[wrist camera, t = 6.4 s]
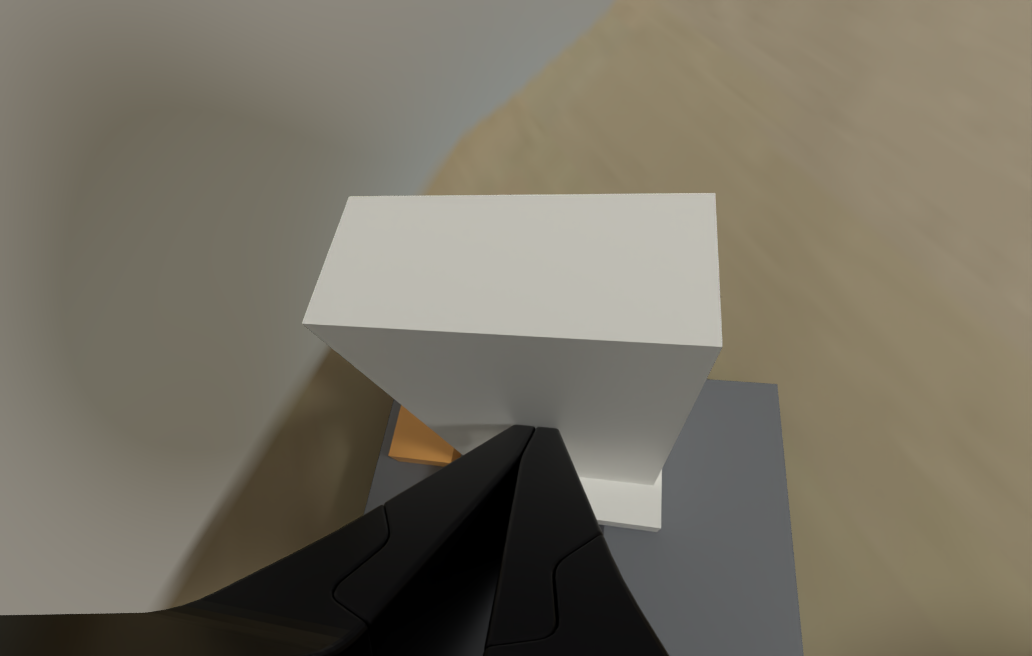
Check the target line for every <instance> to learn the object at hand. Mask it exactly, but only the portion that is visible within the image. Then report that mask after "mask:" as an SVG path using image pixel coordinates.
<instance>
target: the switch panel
mask: <svg viewBox="0 0 1032 656" xmlns="http://www.w3.org/2000/svg"><path fill="white" fill-rule="evenodd" d="M461 456H463V455H462V454H461V453H460V452H458V451H457V450H456V449H455V448H454V447H452V446H451V445H450V444H449V443H447V442H446V441H445V440H444V439H443V438H441V437H440V436H439V435H438V434H436V433H435V432H434V431H433V430H431V429H430V428H429V427H428V426H427V425H425V424H424V423H423V422H422V421H420V420H419V419H418V418H417V417H416V416H414V415H413V414H412V413H411V412H409V411H408V410H407V409H406V408H405V407H403V406H402V405H401V404H400V403H398V402H397V401H396V400H395V399H394V400H393V404H392V408H391V412H390V416H389V420H388V423H387V427H386V431H385V435H384V439H383V443H382V446H381V450H380V454H379V458H378V462H377V466H376V469H375V473H374V477H373V481H372V485H371V489H370V492H369V496H368V500H367V504H366V508H365V512H364V515H365V514H366V513H368V512H370V511H371V510H373V509H375V508H376V507H378V506H380V505H383V506H384V503H385V502H386V501H388V500H390V499H391V498H393V497H395V496H396V495H398V494H400V493H401V492H403V491H405V490H406V489H408V488H410V487H411V486H413V485H415V484H416V483H418V482H420V481H421V480H423V479H425V478H426V477H428V476H430V475H431V474H433V473H435V472H436V471H438V470H439V469H441V468H443V467H444V466H446V465H448V464H449V463H451V462H453V461H454V460H456V459H458V458H459V457H461ZM599 526H600V528H601V531H602V533H603V537H604V538H605V540H606V542H607V544H608V547H609V549H610V552H611V554H612V556H613V558H614V560H615V562H616V564H617V566H618V569H619V571H620V573H621V575H622V577H623V579H624V581H625V583H626V584H627V586H628V588H629V590H630V591H631V593H632V595H633V596H634V598H635V600H636V602H637V603H638V605H639V607H640V609H641V610H642V612H643V613H644V615H645V617H646V618H647V620H648V622H649V623H650V625H651V626H652V628H653V630H654V631H655V633H656V634H657V636H658V638H659V639H660V641H661V643H662V644H663V646H664V647H665V649H666V651H667V652H668V654H669V655H670V656H804V655H803V645H802V635H801V624H800V614H799V604H798V593H797V583H796V573H795V563H794V552H793V542H792V532H791V522H790V511H789V501H788V491H787V480H786V470H785V460H784V450H783V439H782V429H781V419H780V408H779V398H778V388H777V384H767V383H752V382H738V381H723V380H709V379H706V381H705V383H704V385H703V387H702V389H701V391H700V393H699V395H698V397H697V399H696V401H695V403H694V405H693V407H692V409H691V411H690V413H689V415H688V417H687V419H686V421H685V423H684V425H683V427H682V429H681V431H680V433H679V435H678V437H677V439H676V441H675V443H674V445H673V447H672V449H671V451H670V453H669V455H668V457H667V460H666V462H665V464H664V466H663V468H662V499H661V529H660V530H659V531H658V532H652V531H645V530H638V529H630V528H623V527H616V526H608V525H601V524H599Z"/></svg>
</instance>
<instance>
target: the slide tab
mask: <svg viewBox="0 0 1032 656" xmlns="http://www.w3.org/2000/svg"><path fill="white" fill-rule="evenodd" d="M302 324H303V325H304V326H305V327H307V328H308V329H309V330H310V331H311V332H313V333H314V334H315V335H316V336H318V337H319V338H320V339H321V340H322V341H324V342H325V343H326V344H327V345H329V346H330V347H331V348H332V349H333V350H335V351H336V352H337V353H338V354H340V355H341V356H342V357H343V358H344V359H346V360H347V361H348V362H349V363H351V364H352V365H353V366H354V367H356V368H357V369H358V370H359V371H360V372H362V373H363V374H364V375H365V376H367V377H368V378H369V379H370V380H371V381H373V382H374V383H375V384H376V385H378V386H379V387H380V388H381V389H382V390H384V391H385V392H386V393H387V394H389V395H390V396H391V397H392V398H393V399H395V400H396V401H397V402H398V403H400V404H401V405H402V406H403V407H405V408H406V409H407V410H408V411H409V412H411V413H412V414H413V415H414V416H416V417H417V418H418V419H419V420H420V421H422V422H423V423H424V424H425V425H427V426H428V427H429V428H430V429H431V430H433V431H434V432H435V433H436V434H438V435H439V436H440V437H441V438H443V439H444V440H445V441H446V442H447V443H449V444H450V445H451V446H452V447H454V448H455V449H456V450H457V451H458V452H460V453H461V454H462V455H464V454H466V453H468V452H469V451H471V450H473V449H474V448H476V447H478V446H479V445H481V444H483V443H484V442H486V441H488V440H489V439H491V438H493V437H494V436H496V435H497V434H499V433H501V432H502V431H504V430H506V429H507V428H509V427H511V426H513V425H516V424H517V425H527V426H533V427H535V429H536V428H537V427H548V428H557V429H558V430H559V431H560V434H561V436H562V438H563V441H564V443H565V445H566V448H567V450H568V453H569V455H570V457H571V460H572V462H573V464H574V467H575V469H576V472H577V474H578V476H579V479H580V481H581V483H582V486H583V488H584V491H585V493H586V495H587V498H588V500H589V502H590V505H591V507H592V509H593V512H594V514H595V517H596V519H597V521H598V524H601V525H608V526H616V527H623V528H630V529H638V530H645V531H652V532H658V531H659V530H660V529H661V499H662V468H663V466H664V464H665V462H666V460H667V457H668V455H669V453H670V451H671V449H672V447H673V445H674V443H675V441H676V439H677V437H678V435H679V433H680V431H681V429H682V427H683V425H684V423H685V421H686V419H687V417H688V415H689V413H690V411H691V409H692V407H693V405H694V403H695V401H696V399H697V397H698V395H699V393H700V391H701V389H702V387H703V385H704V383H705V381H706V379H707V377H708V375H709V373H710V371H711V369H712V367H713V365H714V363H715V361H716V359H717V357H718V355H719V353H720V351H721V349H722V328H721V306H720V285H719V264H718V243H717V222H716V201H715V193H669V194H557V195H444V196H349V198H348V201H347V204H346V206H345V209H344V212H343V214H342V217H341V220H340V222H339V225H338V228H337V231H336V233H335V236H334V239H333V241H332V244H331V247H330V250H329V252H328V255H327V257H326V260H325V263H324V266H323V268H322V271H321V273H320V276H319V279H318V281H317V284H316V287H315V289H314V292H313V295H312V297H311V300H310V303H309V306H308V308H307V311H306V314H305V316H304V319H303V322H302Z"/></svg>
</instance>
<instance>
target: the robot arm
mask: <svg viewBox="0 0 1032 656" xmlns="http://www.w3.org/2000/svg"><path fill="white" fill-rule="evenodd" d="M0 656H670V655H669V654H668V652H667V651H666V649H665V647H664V646H663V644H662V643H661V641H660V639H659V638H658V636H657V634H656V633H655V631H654V630H653V628H652V626H651V625H650V623H649V622H648V620H647V618H646V617H645V615H644V613H643V612H642V610H641V609H640V607H639V605H638V603H637V602H636V600H635V598H634V596H633V595H632V593H631V591H630V590H629V588H628V586H627V584H626V583H625V581H624V579H623V577H622V575H621V573H620V571H619V569H618V566H617V564H616V562H615V560H614V558H613V556H612V554H611V552H610V549H609V547H608V544H607V542H606V540H605V538H604V537H603V533H602V531H601V528H600V526H599V524H598V521H597V519H596V517H595V514H594V512H593V509H592V507H591V505H590V502H589V500H588V498H587V495H586V493H585V491H584V488H583V486H582V483H581V481H580V479H579V476H578V474H577V472H576V469H575V467H574V464H573V462H572V460H571V457H570V455H569V453H568V450H567V448H566V445H565V443H564V441H563V438H562V436H561V434H560V431H559V430H558V429H557V428H548V427H537V428H536V429H535V427H533V426H527V425H517V424H516V425H513V426H511V427H509V428H507V429H506V430H504V431H502V432H501V433H499V434H497V435H496V436H494V437H493V438H491V439H489V440H488V441H486V442H484V443H483V444H481V445H479V446H478V447H476V448H474V449H473V450H471V451H469V452H468V453H466V454H464V455H463V456H461V457H459V458H458V459H456V460H454V461H453V462H451V463H449V464H448V465H446V466H444V467H443V468H441V469H439V470H438V471H436V472H435V473H433V474H431V475H430V476H428V477H426V478H425V479H423V480H421V481H420V482H418V483H416V484H415V485H413V486H411V487H410V488H408V489H406V490H405V491H403V492H401V493H400V494H398V495H396V496H395V497H393V498H391V499H390V500H388V501H386V502H385V503H384V506H383V505H380V506H378V507H376V508H375V509H373V510H371V511H370V512H368V513H366V514H365V515H363V516H361V517H359V518H358V519H356V520H354V521H353V522H351V523H349V524H347V525H346V526H344V527H342V528H340V529H339V530H337V531H335V532H333V533H331V534H329V535H327V536H326V537H324V538H322V539H320V540H318V541H316V542H314V543H312V544H310V545H308V546H306V547H305V548H303V549H301V550H299V551H297V552H295V553H293V554H291V555H289V556H287V557H285V558H283V559H281V560H279V561H277V562H275V563H273V564H271V565H269V566H267V567H265V568H263V569H261V570H259V571H257V572H255V573H253V574H251V575H249V576H247V577H245V578H243V579H241V580H239V581H237V582H235V583H233V584H231V585H229V586H227V587H225V588H223V589H221V590H219V591H217V592H215V593H212V594H210V595H208V596H206V597H204V598H202V599H199V600H197V601H194V602H191V603H188V604H185V605H182V606H178V607H174V608H170V609H166V610H161V611H154V612H148V613H120V614H119V613H116V614H60V615H59V614H56V615H0Z"/></svg>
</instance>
